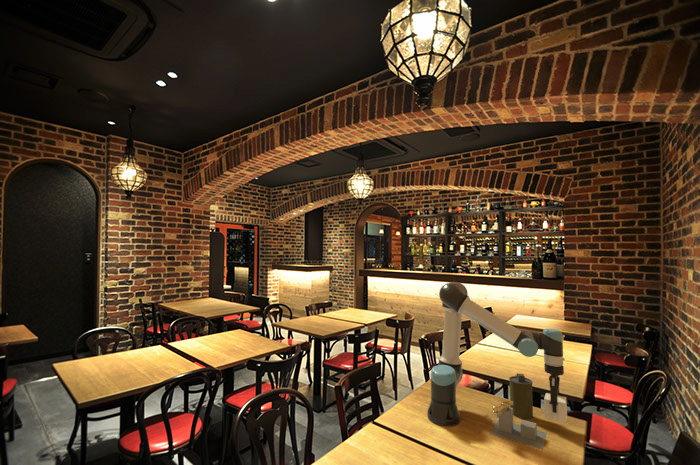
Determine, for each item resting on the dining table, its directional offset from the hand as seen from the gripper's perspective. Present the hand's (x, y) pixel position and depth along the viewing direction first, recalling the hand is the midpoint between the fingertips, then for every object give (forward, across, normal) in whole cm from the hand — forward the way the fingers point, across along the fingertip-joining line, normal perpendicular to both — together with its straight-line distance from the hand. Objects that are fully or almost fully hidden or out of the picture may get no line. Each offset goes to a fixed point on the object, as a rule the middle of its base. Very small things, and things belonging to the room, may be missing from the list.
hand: (555, 415), depth 150 cm
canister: (+7, +7, +15) cm, 18 cm away
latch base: (+7, -14, +13) cm, 20 cm away
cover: (0, 0, 0) cm, 0 cm away
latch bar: (-4, -20, +19) cm, 28 cm away
